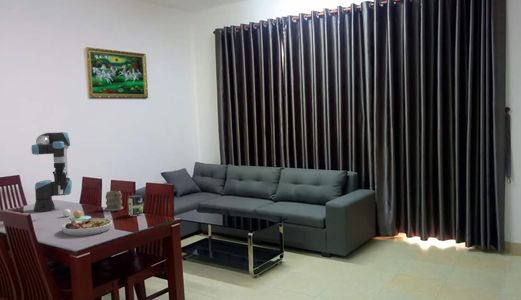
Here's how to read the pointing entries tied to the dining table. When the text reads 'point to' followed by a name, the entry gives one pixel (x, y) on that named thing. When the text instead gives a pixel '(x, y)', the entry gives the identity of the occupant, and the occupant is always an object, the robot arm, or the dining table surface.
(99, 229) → the bowl
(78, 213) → the object ball
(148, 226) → the dining table surface
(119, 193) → the tankard
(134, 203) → the coffee can
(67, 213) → the cue ball
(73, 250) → the dining table surface
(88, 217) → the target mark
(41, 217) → the dining table surface
